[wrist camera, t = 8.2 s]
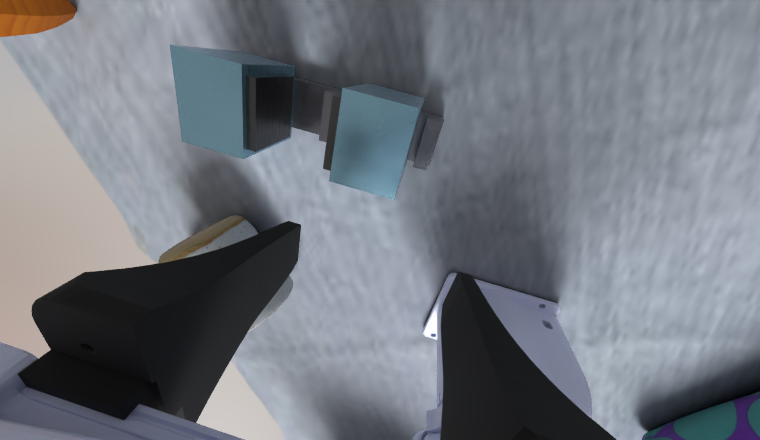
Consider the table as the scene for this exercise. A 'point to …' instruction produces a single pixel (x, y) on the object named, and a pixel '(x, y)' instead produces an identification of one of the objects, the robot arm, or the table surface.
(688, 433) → the pencil case
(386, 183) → the teal brushed-finish brick
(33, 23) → the carrot
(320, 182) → the table surface
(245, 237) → the ceramic mug
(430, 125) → the rail
